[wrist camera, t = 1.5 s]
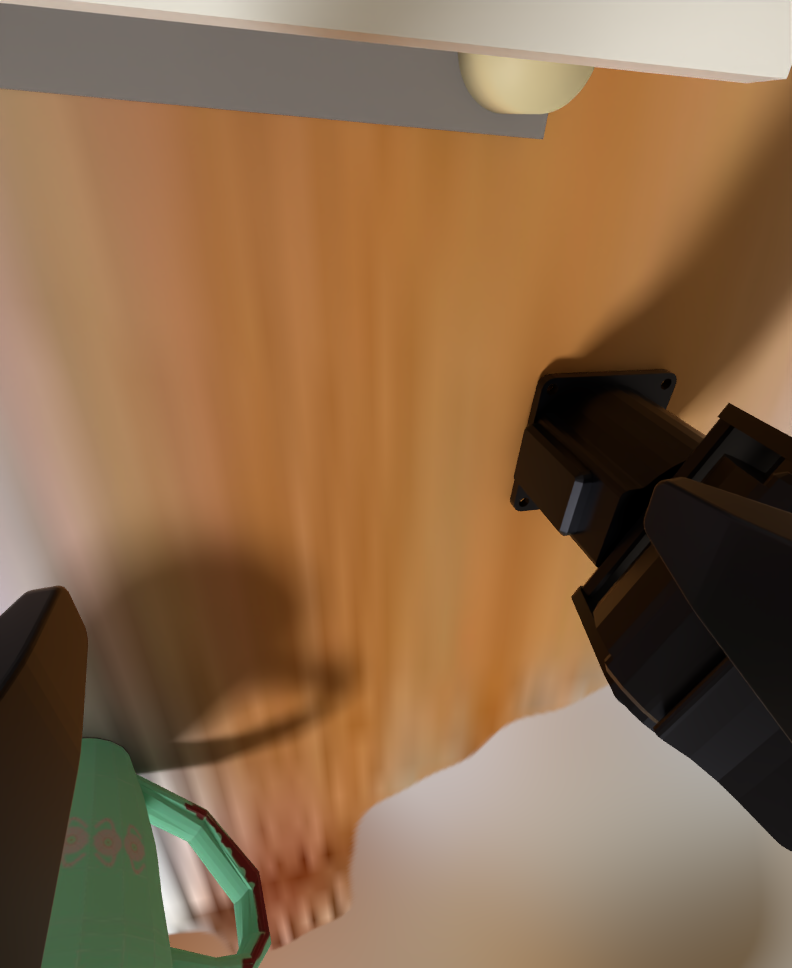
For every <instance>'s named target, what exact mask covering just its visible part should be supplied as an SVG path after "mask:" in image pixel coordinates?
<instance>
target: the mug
mask: <svg viewBox="0 0 792 968" xmlns="http://www.w3.org/2000/svg"><path fill="white" fill-rule="evenodd" d="M151 824H152V825H154V826H156V827H158V828H161V829H163V830H165V831H167V832H169V833H171V834H173V835H175V836H177V837H179V838H181V839H183V840H186V841H187V842H188V843H189V844H190V846H191V847H192V848H193V850H194V851H195V852H196V854H197V855H198V856H199V858H200V859H201V860H202V862H203V863H204V864H205V866H206V867H207V868H208V870H209V871H210V872H211V874H212V875H213V876H214V878H215V879H216V881H217V882H218V883H219V885H220V886H221V887H222V889H223V890H224V891H225V893H226V894H227V895H228V897H229V898H230V899H231V901H232V902H233V903H234V910H235V919H236V928H237V936H238V945H239V949H238V952H237V954H235V955H229V956H223V957H217V958H215V957H211V956H206V955H201V954H198V953H194V952H189V951H185V950H181V949H177V948H172V947H170V944H169V937H168V931H167V925H166V919H165V913H164V907H163V901H162V894H161V885H160V876H159V867H158V858H157V851H156V845H155V841H154V837H153V832H152V828H151ZM270 945H271V938H270V932H269V927H268V921H267V915H266V910H265V904H264V898H263V892H262V886H261V880H260V875H259V871H258V870H257V868H256V867H255V866H254V865H253V864H252V863H251V861H250V860H249V859H248V858H247V857H246V856H245V854H244V853H243V852H242V851H241V850H240V848H239V847H238V846H237V845H236V844H235V843H234V841H233V840H232V839H231V838H230V837H229V835H228V834H227V833H226V832H225V831H224V830H223V828H222V827H221V826H220V825H219V824H218V822H217V821H216V820H215V819H214V818H213V817H212V815H211V814H210V813H209V812H208V811H207V810H206V809H204V808H202V807H200V806H198V805H196V804H194V803H192V802H190V801H188V800H186V799H184V798H182V797H180V796H178V795H176V794H175V793H173V792H171V791H169V790H167V789H165V788H163V787H161V786H159V785H157V784H155V783H153V782H151V781H149V780H147V779H145V778H143V777H141V776H139V775H137V774H136V773H135V770H134V767H133V765H132V762H131V759H130V756H129V754H128V753H127V752H126V751H125V749H124V748H123V747H121V746H119V745H117V744H115V743H113V742H111V741H107V740H102V739H98V738H82V743H81V754H80V761H79V767H78V773H77V779H76V784H75V790H74V795H73V800H72V806H71V811H70V816H69V821H68V827H67V832H66V837H65V843H64V848H63V853H62V859H61V864H60V869H59V875H58V880H57V885H56V891H55V896H54V901H53V906H52V912H51V917H50V922H49V928H48V933H47V938H46V944H45V949H44V954H43V960H42V965H41V968H258V967H259V965H260V963H261V961H262V960H263V958H264V956H265V954H266V953H267V951H268V949H269V947H270Z"/></svg>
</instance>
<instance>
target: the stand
mask: <svg viewBox="0 0 792 968" xmlns="http://www.w3.org/2000/svg"><path fill="white" fill-rule="evenodd" d="M593 70H594V67H592V66H582V65H573V64H564V63H555V62H545V61H536V60H527V59H517V58H508V57H499V56H490V55H480V54H471V53H462V52H453V51H443V50H434V49H425V48H415V47H406V46H397V45H388V44H378V43H369V42H360V41H351V40H341V39H332V38H323V37H313V36H304V35H295V34H286V33H276V32H267V31H258V30H249V29H239V28H230V27H221V26H211V25H202V24H193V23H184V22H174V21H165V20H156V19H147V18H137V17H128V16H119V15H109V14H100V13H91V12H82V11H72V10H63V9H54V8H45V7H35V6H26V5H17V4H7V3H0V88H2V89H12V90H23V91H34V92H44V93H55V94H66V95H76V96H87V97H97V98H108V99H119V100H129V101H140V102H151V103H161V104H172V105H183V106H193V107H204V108H214V109H225V110H236V111H246V112H257V113H268V114H278V115H289V116H299V117H310V118H321V119H331V120H342V121H353V122H363V123H374V124H384V125H395V126H406V127H416V128H427V129H438V130H448V131H459V132H469V133H480V134H491V135H501V136H512V137H523V138H534V139H543V137H544V132H545V127H546V121H547V116H548V113H550V112H553V111H556V110H558V109H560V108H562V107H563V106H565V105H566V104H567V103H569V102H570V101H571V100H572V99H573V98H574V97H575V96H576V95H577V94H578V93H579V92H580V91H581V90H582V88H583V87H584V85H585V84H586V83H587V81H588V79H589V77H590V76H591V74H592V72H593Z"/></svg>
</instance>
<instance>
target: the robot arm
mask: <svg viewBox="0 0 792 968" xmlns="http://www.w3.org/2000/svg"><path fill="white" fill-rule="evenodd" d="M664 380H665V381H664ZM676 380H677V379H676V375H675V374H673V373H672V372H670V371H668V370H664V369H662V370H637V371H611V372H586V373H561V374H548V375H545V376H544V377H542V378H541V379H540V380H539V382H538V384H537V386H536V391H535V395H534V399H533V404H532V408H531V412H530V416H529V421H528V425H527V427H526V429H525V430H524V435H523V439H522V443H521V448H520V452H519V456H518V461H517V465H516V469H515V474H514V479H515V480H514V485H513V489H512V493H511V497H510V502H511V504H512V505H513V507H514V508H515V509H516V510H517V511H528V510H537V509H540V510H541V511H542V512H543V514H544V515H545V516H546V517H547V518H548V520H549V521H550V522H551V523H552V524H553V526H554V527H555V528H556V529H557V530H558V531H559V533H560V534H561V535H563V536H567V535H570V536H571V537H572V539H573V540H574V541H575V542H576V543H577V544H578V546H579V547H580V548H581V549H582V550H583V551H584V553H585V554H586V555H587V556H588V557H589V559H590V560H591V561H592V562H593V563H594V564H595V566H596V567H597V568H598V569H597V570H596V571H595V572H594V573H593V575H592V576H591V577H590V578H589V580H588V581H587V582H586V583H585V584H584V586H580V587H579V588H578V589H577V590H576V592H575V593H574V594H573V595H572V596H571V597H572V600H573V603H574V605H575V607H576V610H577V612H578V614H579V617H580V619H581V621H582V624H583V626H584V629H585V631H586V633H587V636H588V638H589V640H590V643H591V645H592V647H593V650H594V652H595V654H596V657H597V659H598V662H599V664H600V666H601V669H602V671H603V673H604V676H605V677H606V679H607V681H608V683H609V685H610V687H611V689H612V691H613V694H614V696H615V697H616V698H617V699H618V701H620V702H621V703H622V704H623V705H625V706H626V707H627V708H628V710H629V711H630V712H631V713H632V714H633V715H635V716H636V717H637V718H638V719H639V720H640V721H641V722H642V723H643V724H644V725H646V726H647V727H648V728H650V729H651V730H652V731H653V732H655V733H656V735H657V736H658V737H660V738H661V739H663V741H665V742H667V743H668V744H669V745H671V746H672V747H674V748H675V749H677V750H678V751H680V752H681V753H683V754H684V755H686V756H687V757H689V758H690V759H691V760H693V761H694V762H695V763H696V764H698V765H699V766H700V767H701V768H702V769H703V770H705V771H706V772H707V773H708V774H709V775H710V776H712V777H713V778H714V779H715V780H717V781H718V782H719V783H720V784H721V785H722V786H723V787H724V788H725V789H726V790H727V791H728V792H729V793H730V794H731V795H732V796H733V797H734V798H735V799H736V800H737V801H738V802H739V803H740V804H741V805H742V806H743V807H744V808H745V809H746V810H747V811H748V812H749V813H750V814H751V815H752V816H753V817H754V818H755V819H756V821H758V823H760V825H761V826H762V827H763V828H764V829H765V830H766V831H767V832H768V833H769V834H770V835H771V836H772V837H773V838H774V839H775V840H776V841H777V842H778V843H779V844H781V845H782V846H783V847H785V848H786V849H788V850H790V851H792V437H790V436H788V435H787V434H785V433H783V432H781V431H779V430H777V429H776V428H774V427H772V426H770V425H768V424H767V423H765V422H763V421H761V420H759V419H757V418H756V417H754V416H752V415H750V414H748V413H746V412H745V411H743V410H741V409H739V408H737V407H735V406H734V405H732V404H730V403H728V405H727V406H726V407H725V408H724V409H723V411H722V412H721V413H720V414H719V416H718V417H719V418H720V419H719V420H718V422H717V423H716V424H715V425H714V426H713V428H712V429H711V430H710V431H709V433H708V434H707V435H704V434H703V433H701V432H699V431H698V430H696V429H695V428H693V427H692V426H690V425H689V424H687V423H686V422H684V421H683V420H681V419H679V418H678V417H676V416H675V415H673V414H672V413H670V412H669V411H667V410H666V408H667V405H668V403H669V400H670V397H671V395H672V392H673V390H674V387H675V384H676ZM663 381H664V383H663V384H662V382H663ZM551 384H553V387H552V389H550V390H549V391H547V389H548V387H549V386H550V385H551ZM523 498H524V500H522V501H520V500H521V499H523ZM87 652H88V637H87V632H86V628H85V626H84V624H83V621H82V619H81V617H80V615H79V613H78V611H77V609H76V606H75V604H74V602H73V600H72V598H71V596H70V594H69V592H68V591H67V590H66V589H65V588H64V587H62V586H53V587H47V588H41V589H36V590H31V591H28V592H26V593H25V594H23V595H22V596H21V597H20V598H19V599H18V600H17V601H16V602H15V603H13V604H12V605H11V606H10V607H9V608H8V609H7V610H6V611H5V612H4V613H3V614H2V615H1V616H0V968H41V965H42V960H43V954H44V949H45V944H46V938H47V933H48V928H49V922H50V917H51V912H52V906H53V901H54V896H55V891H56V885H57V880H58V875H59V869H60V864H61V859H62V853H63V848H64V843H65V837H66V832H67V827H68V821H69V816H70V811H71V806H72V800H73V795H74V790H75V784H76V779H77V773H78V767H79V761H80V754H81V743H82V730H83V715H84V699H85V683H86V668H87Z"/></svg>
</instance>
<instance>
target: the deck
mask: <svg viewBox="0 0 792 968" xmlns="http://www.w3.org/2000/svg"><path fill="white" fill-rule="evenodd" d="M0 3H7V4H17V5H26V6H35V7H45V8H54V9H63V10H72V11H82V12H91V13H100V14H109V15H119V16H128V17H137V18H147V19H156V20H165V21H174V22H184V23H193V24H202V25H211V26H221V27H230V28H239V29H249V30H258V31H267V32H276V33H286V34H295V35H304V36H313V37H323V38H332V39H341V40H351V41H360V42H369V43H378V44H388V45H397V46H406V47H415V48H425V49H434V50H443V51H453V52H462V53H471V54H480V55H490V56H499V57H508V58H517V59H527V60H536V61H545V62H555V63H564V64H573V65H582V66H592V67H601V68H610V69H619V70H629V71H638V72H647V73H657V74H666V75H675V76H684V77H694V78H703V79H712V80H721V81H731V82H740V83H753V82H762V81H771V80H781V79H787V76H788V73H789V71H790V68H791V65H792V0H0Z"/></svg>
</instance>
